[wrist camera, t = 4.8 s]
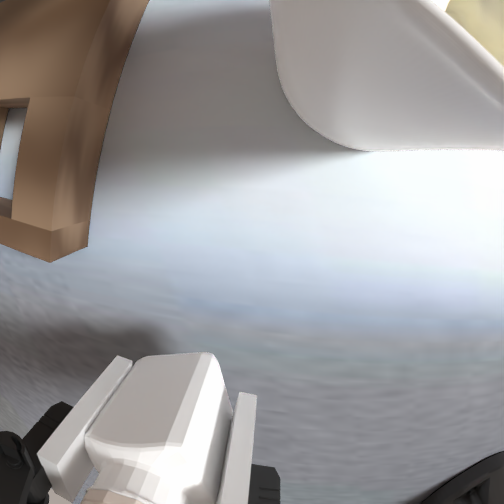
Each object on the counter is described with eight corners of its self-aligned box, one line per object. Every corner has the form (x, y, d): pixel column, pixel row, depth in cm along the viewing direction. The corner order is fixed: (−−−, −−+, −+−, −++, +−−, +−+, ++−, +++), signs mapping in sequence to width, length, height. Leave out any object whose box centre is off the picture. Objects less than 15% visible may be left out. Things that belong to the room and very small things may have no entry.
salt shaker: (236, 412, 14) (207, 588, 4) (163, 414, 14) (97, 562, 5) (217, 345, 13) (151, 548, 4) (137, 351, 13) (26, 504, 4)
